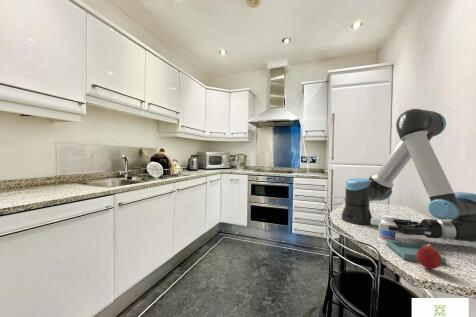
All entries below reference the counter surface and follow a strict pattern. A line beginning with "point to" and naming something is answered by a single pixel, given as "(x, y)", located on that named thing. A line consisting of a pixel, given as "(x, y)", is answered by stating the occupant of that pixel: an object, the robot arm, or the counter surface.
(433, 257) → the onion
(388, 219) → the pill bottle
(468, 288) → the counter surface
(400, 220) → the robot arm
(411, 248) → the tray
